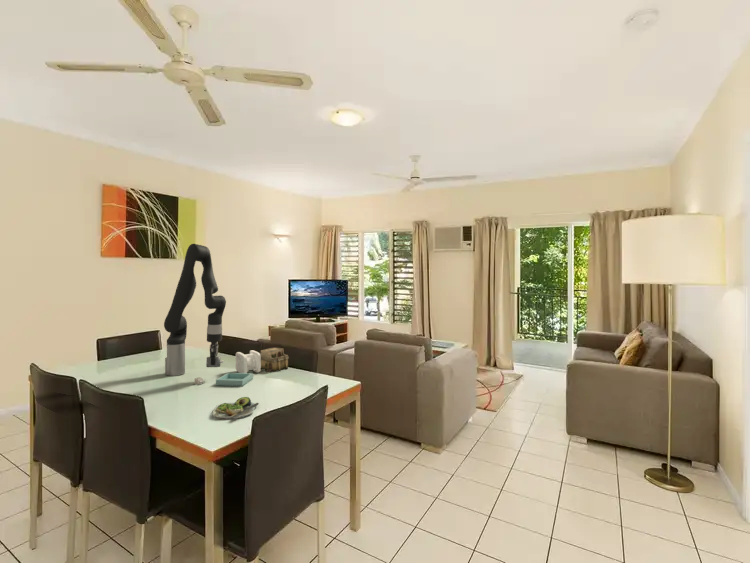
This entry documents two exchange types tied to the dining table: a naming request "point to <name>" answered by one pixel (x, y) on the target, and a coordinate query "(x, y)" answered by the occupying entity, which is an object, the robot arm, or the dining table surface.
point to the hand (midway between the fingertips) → (213, 364)
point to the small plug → (199, 380)
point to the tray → (234, 379)
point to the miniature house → (273, 360)
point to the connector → (217, 362)
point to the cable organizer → (248, 362)
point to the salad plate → (235, 409)
